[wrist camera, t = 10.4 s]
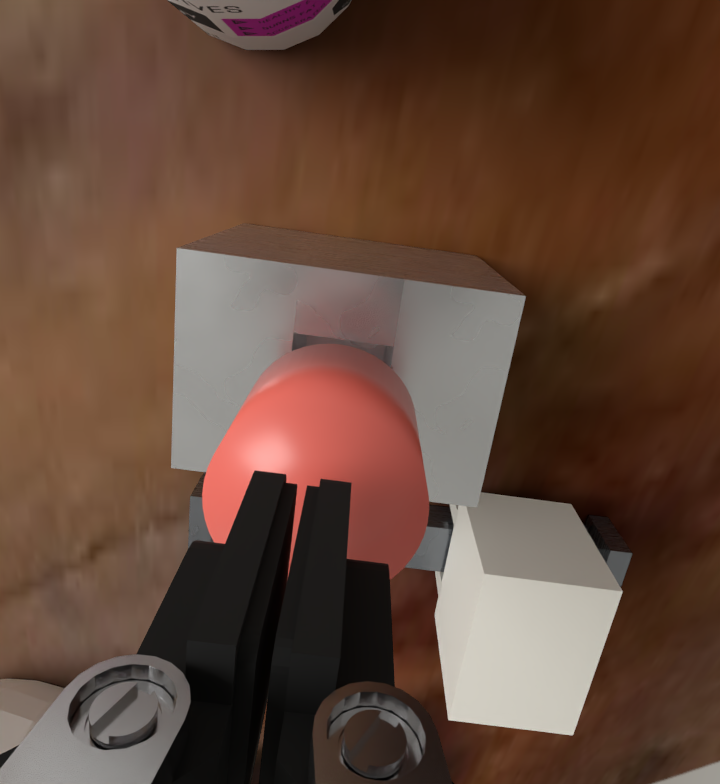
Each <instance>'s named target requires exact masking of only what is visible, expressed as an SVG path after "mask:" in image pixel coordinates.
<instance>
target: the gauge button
mask: <svg viewBox="0 0 720 784" xmlns="http://www.w3.org/2000/svg"><path fill="white" fill-rule="evenodd" d="M255 470H256V471H264V472H272V473H280V474H286V476H287V478H286V483H293V484H297V496H296V505H295V514H294V524H293V533H292V542H291V551H290V560H289V569H288V575H289V570H290V565H291V560H292V556H293V551H294V546H295V541H296V536H297V532H298V527H299V522H300V517H301V512H302V508H303V503H304V498H305V493H306V488H307V485H309V486H317V487H319V485H320V480H321V479H327V480H335V481H343V482H351V483H352V484H351V500H350V515H349V531H348V546H347V559H353V560H361V561H369V562H377V563H385V564H388V565H389V574H390V579H392V578H393V577H394V576H395V575H397V574H398V573H399V572H400V571H401V570H402V569H403V568H404V567H405V566H406V565H407V564H408V562H409V561H410V560H411V559H412V557H413V556H414V554H415V553H416V551H417V549H418V548H419V546H420V544H421V541H422V539H423V537H424V534H425V531H426V527H427V523H428V516H429V495H428V489H427V482H426V476H425V470H424V464H423V457H422V451H421V445H420V439H419V432H418V426H417V420H416V414H415V408H414V405H413V402H412V399H411V396H410V394H409V392H408V390H407V388H406V386H405V384H404V383H403V382H402V380H401V379H400V377H399V376H398V375H397V374H396V373H395V372H394V371H393V369H391V368H390V367H389V366H388V365H387V364H386V363H385V362H383V361H382V360H380V359H379V358H377V357H376V356H374V355H372V354H370V353H368V352H366V351H364V350H361V349H358V348H355V347H352V346H347V345H342V344H316V345H310V346H305V347H302V348H299V349H296V350H294V351H291V352H289V353H287V354H285V355H284V356H282V357H280V358H279V359H277V360H276V361H275V362H273V363H272V364H271V365H270V366H269V367H268V368H267V369H266V370H265V371H264V372H263V373H262V374H261V376H260V377H259V378H258V380H257V382H256V383H255V385H254V386H253V388H252V390H251V391H250V393H249V395H248V397H247V398H246V400H245V402H244V403H243V405H242V407H241V409H240V410H239V412H238V414H237V415H236V417H235V419H234V421H233V422H232V424H231V426H230V427H229V429H228V431H227V433H226V434H225V436H224V438H223V439H222V441H221V443H220V445H219V446H218V448H217V450H216V451H215V453H214V455H213V457H212V459H211V461H210V463H209V466H208V468H207V471H206V475H205V478H204V483H203V492H202V503H203V512H204V517H205V521H206V524H207V527H208V531H209V533H210V535H211V537H212V539H213V541H214V543H222V544H225V543H226V540H227V538H228V535H229V533H230V530H231V528H232V525H233V523H234V520H235V518H236V515H237V513H238V510H239V508H240V505H241V503H242V500H243V498H244V495H245V493H246V490H247V488H248V485H249V482H250V480H251V477H252V475H253V473H254V471H255ZM287 580H288V579H287Z"/></svg>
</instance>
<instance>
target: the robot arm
mask: <svg viewBox="0 0 720 784" xmlns="http://www.w3.org/2000/svg"><path fill="white" fill-rule="evenodd" d="M286 478H287V476H286V474H280V473H272V472H264V471H256V470H255V471H254V473H253V475H252V477H251V480H250V482H249V485H248V488H247V490H246V493H245V495H244V498H243V500H242V503H241V505H240V508H239V510H238V513H237V515H236V518H235V520H234V523H233V525H232V528H231V530H230V533H229V535H228V538H227V540H226V543H225V544H222V543H214V542H206V541H198V540H195V541H193V542H192V543H191V545H190V547H189V548H188V551H187V553H186V555H185V557H184V559H183V561H182V563H181V565H180V567H179V569H178V571H177V573H176V575H175V577H174V579H173V581H172V583H171V585H170V587H169V589H168V591H167V593H166V595H165V597H164V599H163V601H162V604H161V606H160V608H159V610H158V612H157V614H156V616H155V618H154V620H153V622H152V624H151V626H150V628H149V630H148V632H147V634H146V636H145V638H144V640H143V642H142V644H141V646H140V648H139V650H138V652H137V654H136V655H127V656H119V657H115V658H112V659H109V660H106V661H103V662H100V663H97V664H96V665H94V666H92V667H91V668H89V669H87V670H86V671H84V672H82V673H81V674H79V675H78V676H77V677H76V678H75V679H74V680H73V681H72V682H71V683H70V684H69V685H68V686H67V687H66V688H65V689H64V690H63V691H62V692H61V694H60V695H59V696H58V697H57V698H56V700H55V701H54V702H53V703H52V705H51V706H50V707H49V708H48V710H47V711H46V712H45V713H44V715H43V716H42V717H41V718H40V720H39V721H38V722H37V723H36V725H35V726H34V727H33V728H32V730H31V731H30V732H29V733H28V735H27V736H26V737H25V738H24V740H23V741H22V742H21V743H20V745H18V746H16V747H14V748H12V749H10V750H8V751H6V752H4V753H2V754H0V784H251V779H252V774H253V769H254V764H255V759H256V754H257V749H258V744H259V739H260V734H261V729H262V724H263V719H264V714H265V709H266V704H267V711H266V720H265V730H264V739H263V749H262V759H261V768H260V778H259V784H454V783H453V782H452V781H451V778H450V774H449V771H448V767H447V764H446V760H445V756H444V753H443V749H442V746H441V742H440V739H439V735H438V732H437V729H436V727H435V725H434V723H433V721H432V718H431V716H430V714H429V713H428V712H427V711H426V710H425V709H424V707H423V706H422V705H421V704H420V703H419V702H418V701H417V700H416V699H415V698H413V697H412V696H410V695H409V694H407V693H406V692H404V691H403V690H401V689H398V688H396V687H395V685H394V663H393V641H392V619H391V596H390V574H389V565H388V564H385V563H377V562H369V561H361V560H353V559H347V546H348V531H349V515H350V500H351V484H352V483H351V482H343V481H335V480H327V479H321V480H320V485H319V487H317V486H309V485H307V488H306V493H305V498H304V503H303V508H302V512H301V517H300V522H299V527H298V532H297V536H296V541H295V546H294V551H293V556H292V560H291V565H290V570H289V575H288V569H289V560H290V551H291V542H292V533H293V524H294V514H295V505H296V496H297V484H293V483H286ZM287 579H288V580H287ZM267 699H268V701H267Z"/></svg>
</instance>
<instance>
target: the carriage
mask: <svg viewBox="0 0 720 784" xmlns="http://www.w3.org/2000/svg"><path fill="white" fill-rule="evenodd" d="M450 510H451V515H452V519H453V524H454V528H453V532H452V537H451V542H450V546H449V551H448V555H447V560H446V565H445V569H444V572H439V571H435V575H436V582H437V589H438V596H439V597H438V601H437V606H436V611H435V621H436V629H437V637H438V644H439V652H440V660H441V667H442V675H443V683H444V690H445V698H446V706H447V713H448V720H452V721H460V722H468V723H477V724H485V725H493V726H501V727H509V728H517V729H525V730H533V731H541V732H550V733H558V734H566V735H573V734H574V731H575V728H576V725H577V722H578V719H579V716H580V713H581V711H582V708H583V705H584V702H585V699H586V696H587V693H588V690H589V688H590V685H591V682H592V679H593V676H594V673H595V670H596V667H597V665H598V662H599V659H600V656H601V653H602V650H603V647H604V644H605V642H606V639H607V636H608V633H609V630H610V627H611V624H612V621H613V619H614V616H615V613H616V610H617V607H618V604H619V601H620V598H621V595H622V593H623V591H622V589H621V588H620V586H619V584H618V583H617V581H616V579H615V577H614V576H613V574H612V572H611V571H610V569H609V567H608V566H607V564H606V562H605V560H604V559H603V557H602V555H601V554H600V552H599V550H598V549H597V547H596V545H595V543H594V542H593V540H592V538H591V537H590V535H589V533H588V532H587V530H586V528H585V527H584V525H583V523H582V521H581V520H580V518H579V516H578V515H577V513H576V511H575V510H574V508H573V506H572V504H567V503H559V502H552V501H544V500H536V499H529V498H521V497H513V496H506V495H498V494H490V493H483V492H481V493H480V498H479V502H478V506H477V508H476V507H468V506H460V505H453V504H450Z"/></svg>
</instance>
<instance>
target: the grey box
mask: <svg viewBox="0 0 720 784" xmlns="http://www.w3.org/2000/svg"><path fill="white" fill-rule="evenodd" d="M525 298H526V296H525V295H524V294H523V293H522V292H520V291H519V290H518V289H517V288H515V287H514V286H513V285H512V284H511V283H509V282H508V281H507V280H506V279H504V278H503V277H502V276H501V275H500V274H498V273H497V272H496V271H495V270H493V269H492V268H491V267H490V266H489V265H487V264H486V263H485V262H484V261H482V260H481V259H480V258H479V257H478V256H475V255H468V254H461V253H454V252H446V251H439V250H432V249H425V248H418V247H410V246H403V245H396V244H389V243H382V242H374V241H367V240H360V239H353V238H346V237H338V236H331V235H324V234H317V233H310V232H302V231H295V230H288V229H281V228H274V227H267V226H259V225H252V224H245V223H243V224H241V225H238V226H235V227H233V228H230V229H227V230H224V231H222V232H219V233H216V234H214V235H211V236H208V237H205V238H203V239H200V240H197V241H194V242H192V243H189V244H186V245H184V246H181V247H178V248H177V261H176V300H175V339H174V379H173V418H172V458H171V468H177V469H185V470H192V471H200V472H206V471H207V468H208V466H209V463H210V461H211V459H212V457H213V455H214V453H215V451H216V450H217V448H218V446H219V445H220V443H221V441H222V439H223V438H224V436H225V434H226V433H227V431H228V429H229V427H230V426H231V424H232V422H233V421H234V419H235V417H236V415H237V414H238V412H239V410H240V409H241V407H242V405H243V403H244V402H245V400H246V398H247V397H248V395H249V393H250V391H251V390H252V388H253V386H254V385H255V383H256V382H257V380H258V378H259V377H260V376H261V374H262V373H263V372H264V371H265V370H266V369H267V368H268V367H269V366H270V365H271V364H272V363H273V362H275V361H276V360H277V359H279V358H280V357H282V356H284V355H285V354H287V353H289V352H291V351H294V350H296V349H299V348H302V347H305V346H310V345H316V344H342V345H347V346H352V347H355V348H358V349H361V350H364V351H366V352H368V353H370V354H372V355H374V356H376V357H377V358H379V359H380V360H382V361H383V362H385V363H386V364H387V365H388V366H389V367H390V368H391V369H393V371H394V372H395V373H396V374H397V375H398V376H399V377H400V379H401V380H402V382H403V383H404V384H405V386H406V388H407V390H408V392H409V394H410V396H411V399H412V402H413V405H414V408H415V414H416V420H417V426H418V432H419V439H420V445H421V451H422V457H423V464H424V470H425V476H426V482H427V489H428V495H429V501H430V502H437V503H445V504H453V505H460V506H468V507H476V508H477V506H478V502H479V498H480V493H481V489H482V485H483V480H484V476H485V472H486V467H487V463H488V459H489V454H490V450H491V446H492V441H493V437H494V433H495V428H496V424H497V420H498V415H499V411H500V407H501V402H502V398H503V394H504V389H505V385H506V381H507V376H508V372H509V368H510V363H511V359H512V355H513V350H514V346H515V342H516V337H517V333H518V329H519V324H520V320H521V315H522V311H523V307H524V302H525Z"/></svg>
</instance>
